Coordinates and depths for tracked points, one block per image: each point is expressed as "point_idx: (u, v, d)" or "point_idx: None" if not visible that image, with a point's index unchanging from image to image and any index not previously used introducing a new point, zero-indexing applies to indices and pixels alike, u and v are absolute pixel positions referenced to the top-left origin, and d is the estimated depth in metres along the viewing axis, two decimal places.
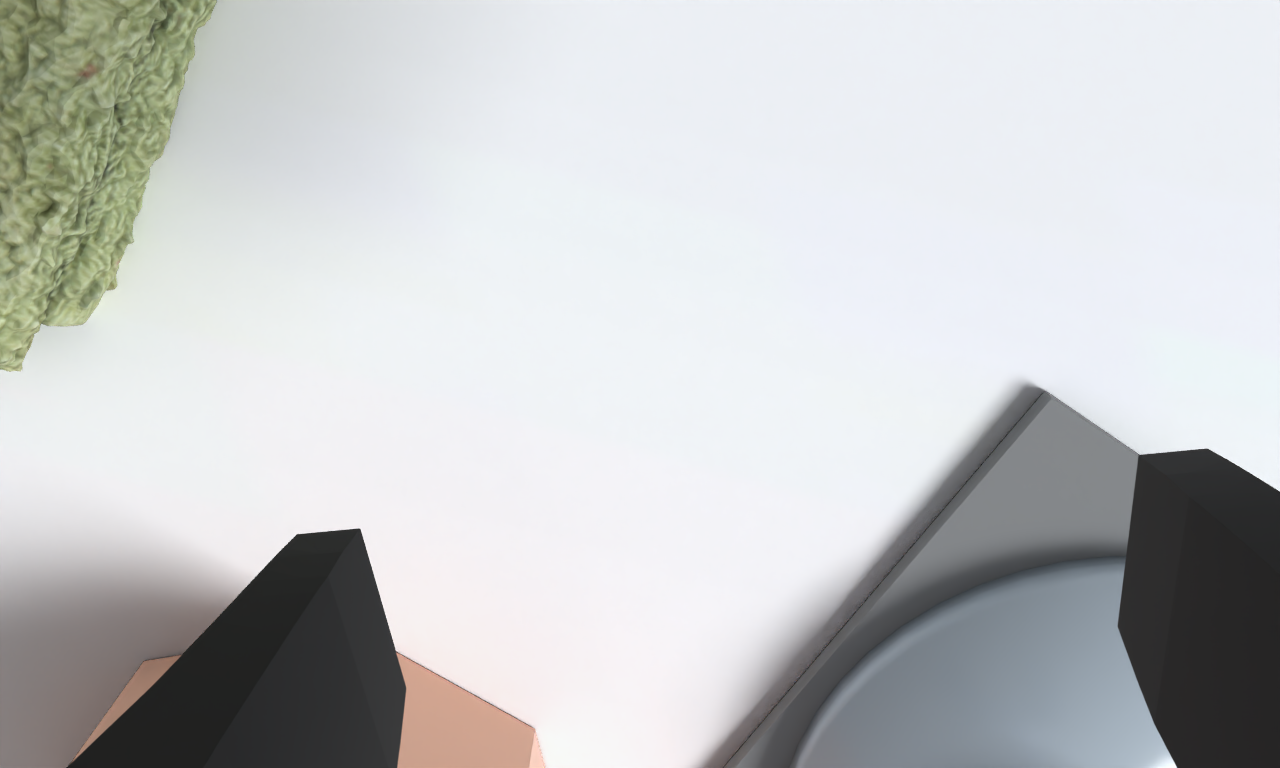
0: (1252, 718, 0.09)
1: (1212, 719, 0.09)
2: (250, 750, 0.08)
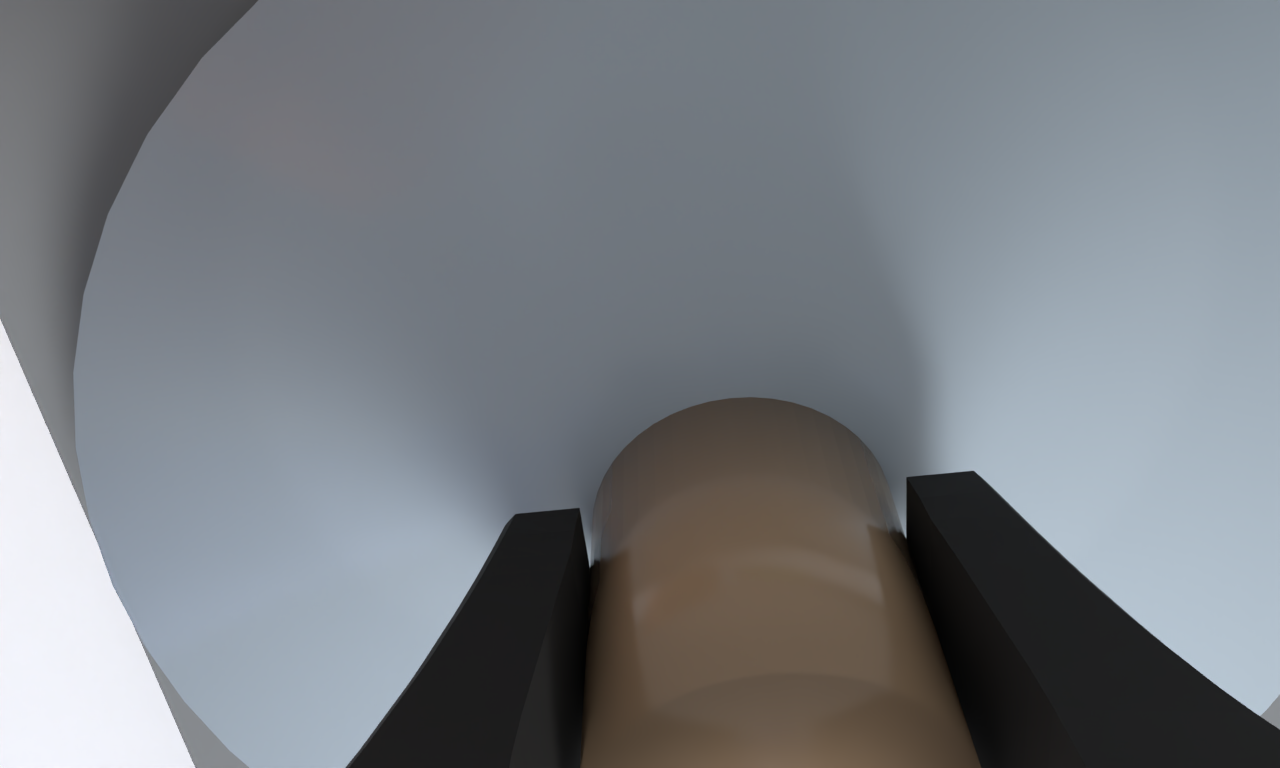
0: (980, 741, 0.09)
1: None
2: (536, 726, 0.08)
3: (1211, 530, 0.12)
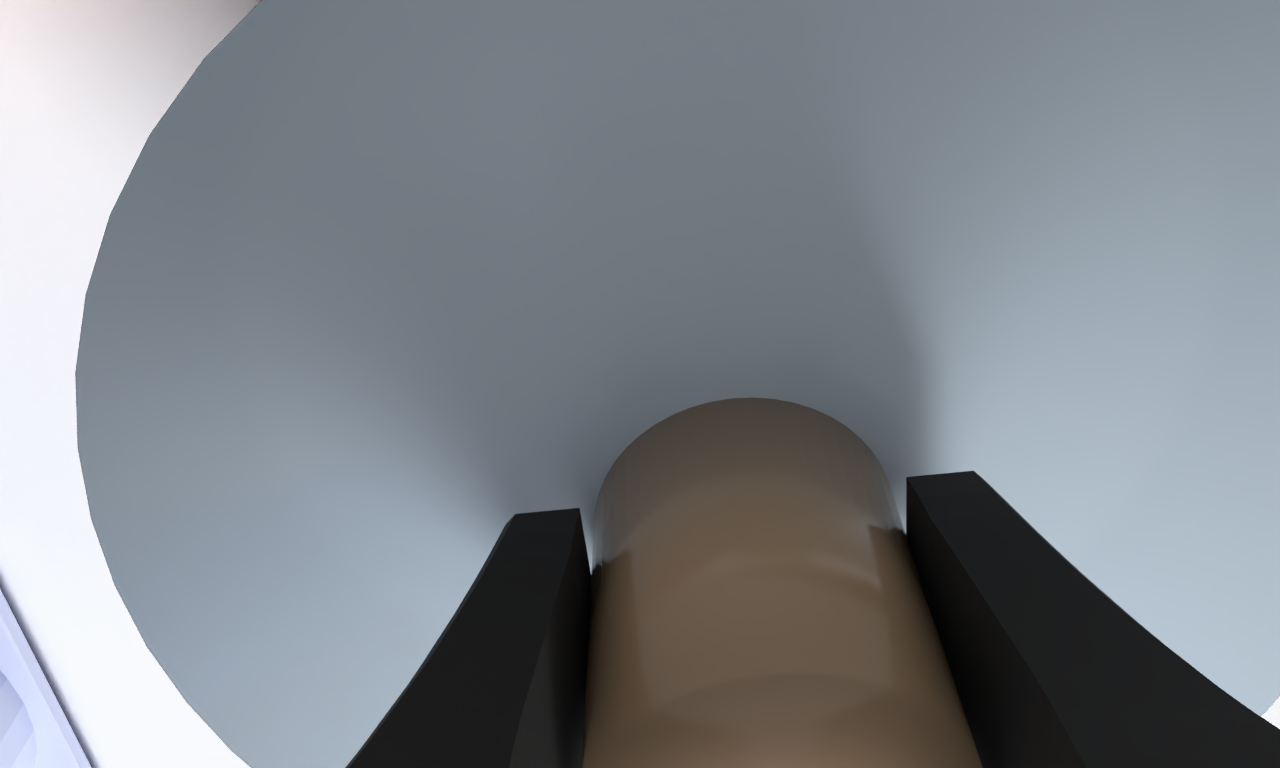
0: (980, 741, 0.09)
1: None
2: (536, 726, 0.08)
3: (1212, 530, 0.12)
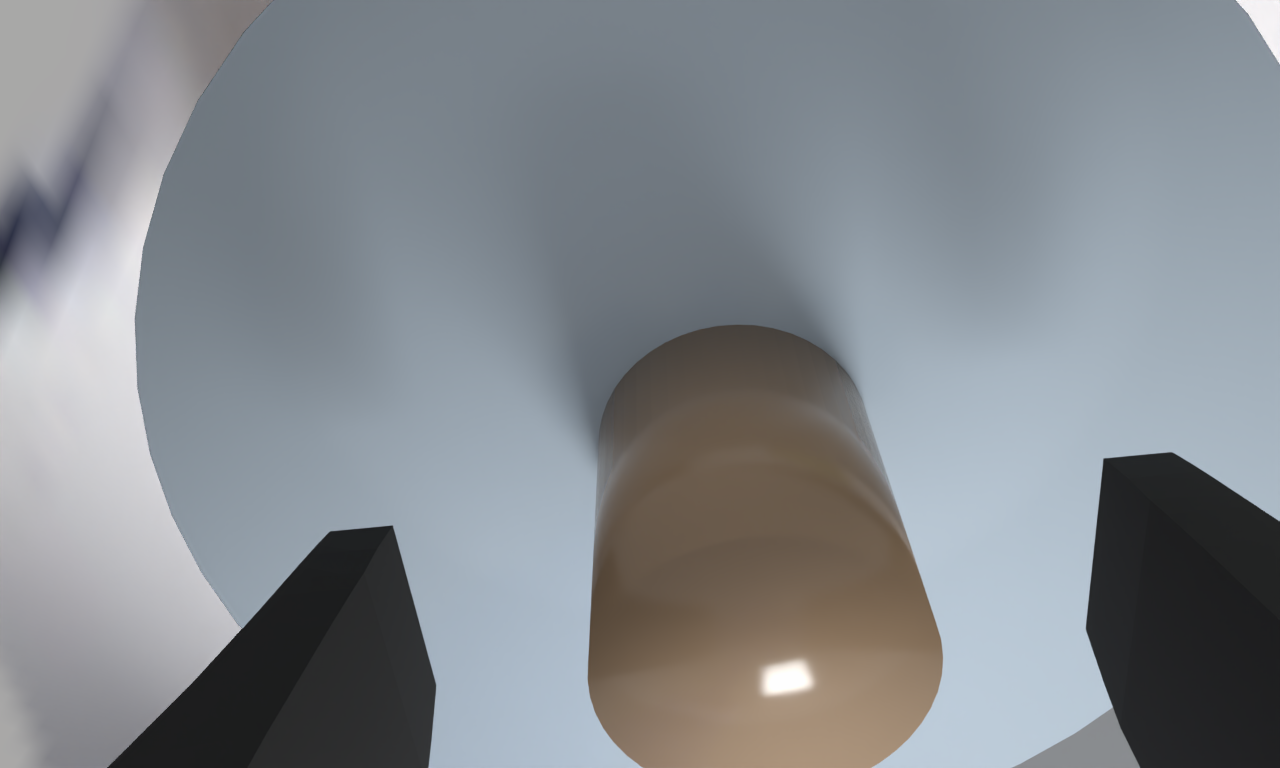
0: (1211, 722, 0.09)
1: (1174, 722, 0.09)
2: (292, 746, 0.08)
3: (1159, 437, 0.13)
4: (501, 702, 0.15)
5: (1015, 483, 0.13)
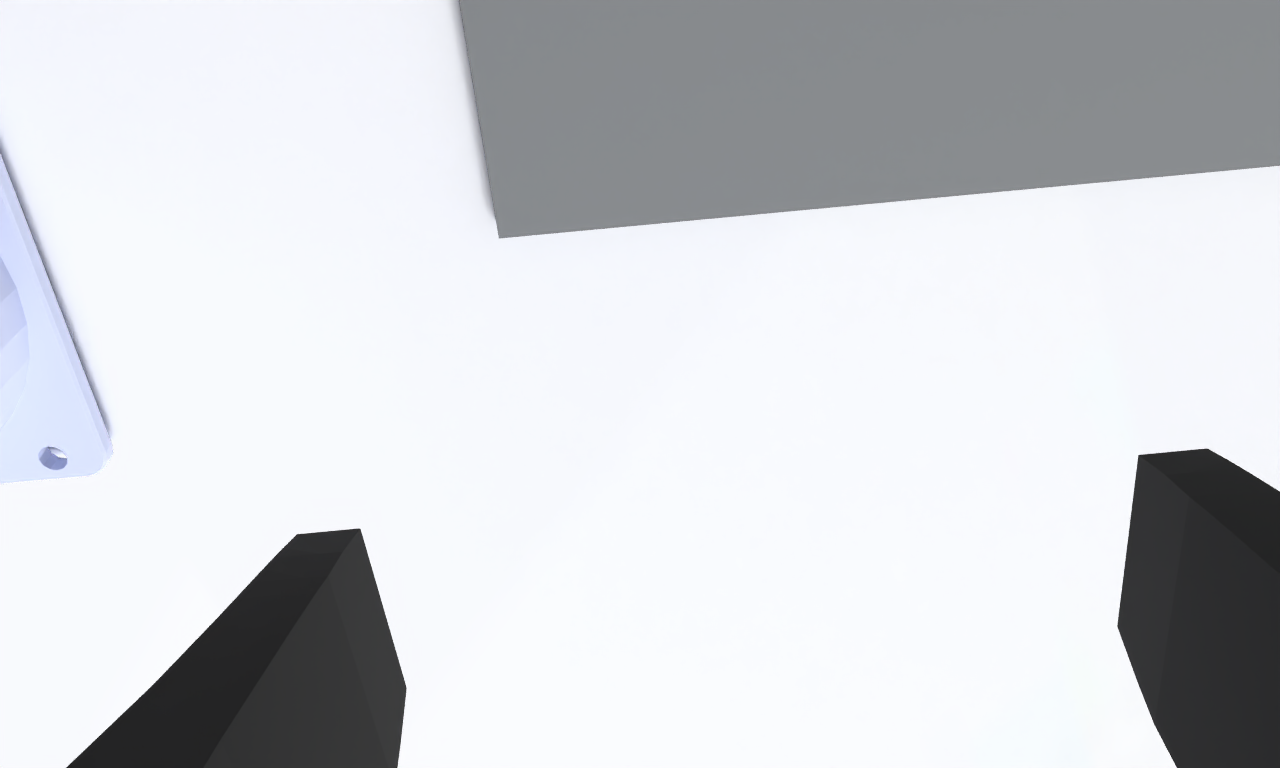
0: (1252, 718, 0.09)
1: (1212, 719, 0.09)
2: (250, 750, 0.08)
3: None
4: None
5: None
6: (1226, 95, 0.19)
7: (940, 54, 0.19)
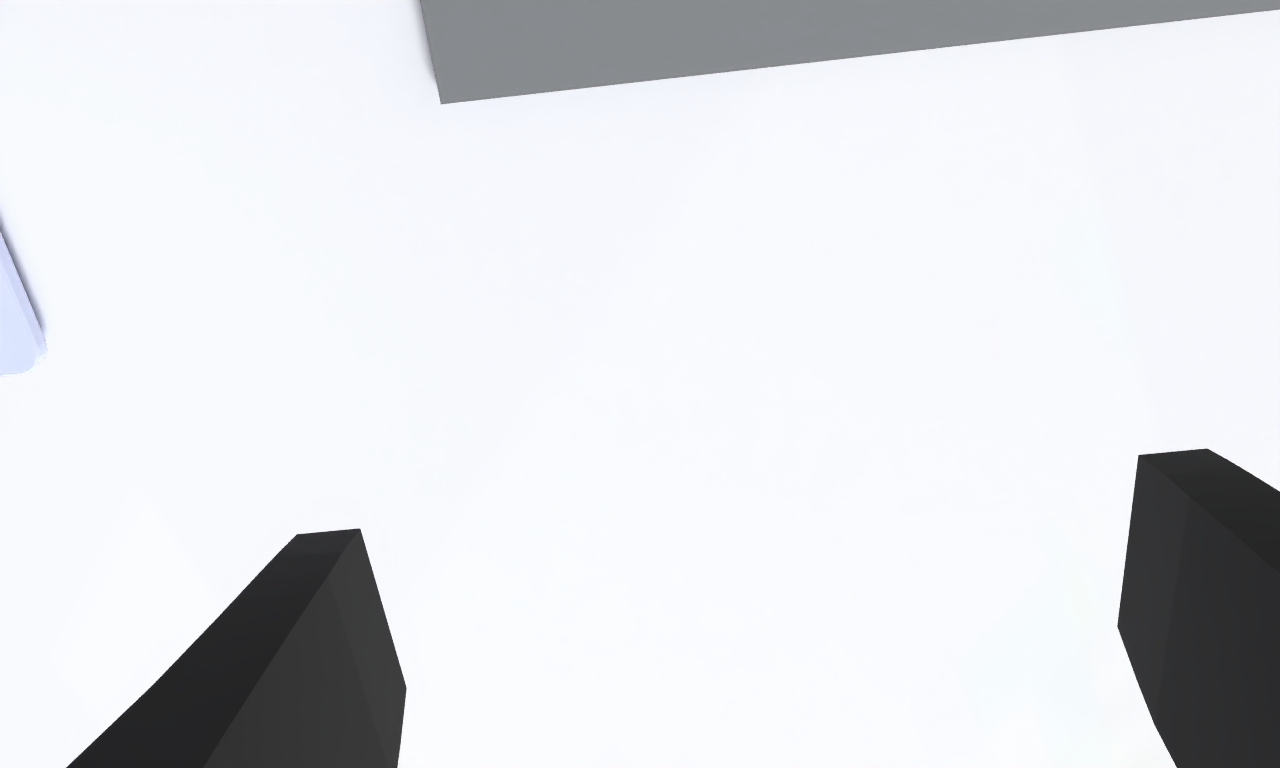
0: (1253, 718, 0.09)
1: (1213, 719, 0.09)
2: (250, 750, 0.08)
3: None
4: None
5: None
6: None
7: None
